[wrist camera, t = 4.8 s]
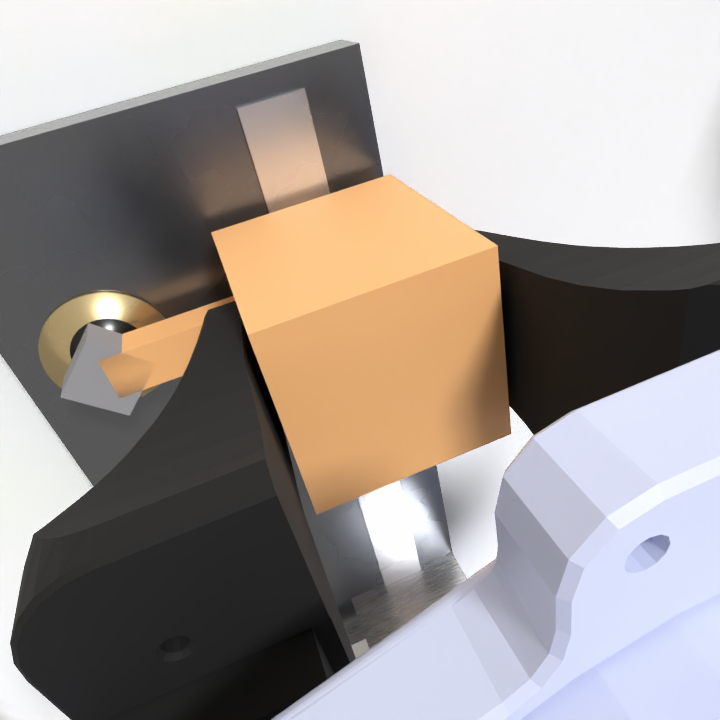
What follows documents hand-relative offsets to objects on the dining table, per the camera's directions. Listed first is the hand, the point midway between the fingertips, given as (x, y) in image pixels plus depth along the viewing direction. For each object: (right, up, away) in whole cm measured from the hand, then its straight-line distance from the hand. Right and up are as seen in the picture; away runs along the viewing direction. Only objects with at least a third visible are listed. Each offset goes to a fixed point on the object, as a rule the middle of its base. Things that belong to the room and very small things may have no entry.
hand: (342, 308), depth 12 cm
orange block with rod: (-2, 0, +1) cm, 2 cm away
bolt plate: (-2, -4, +6) cm, 7 cm away
